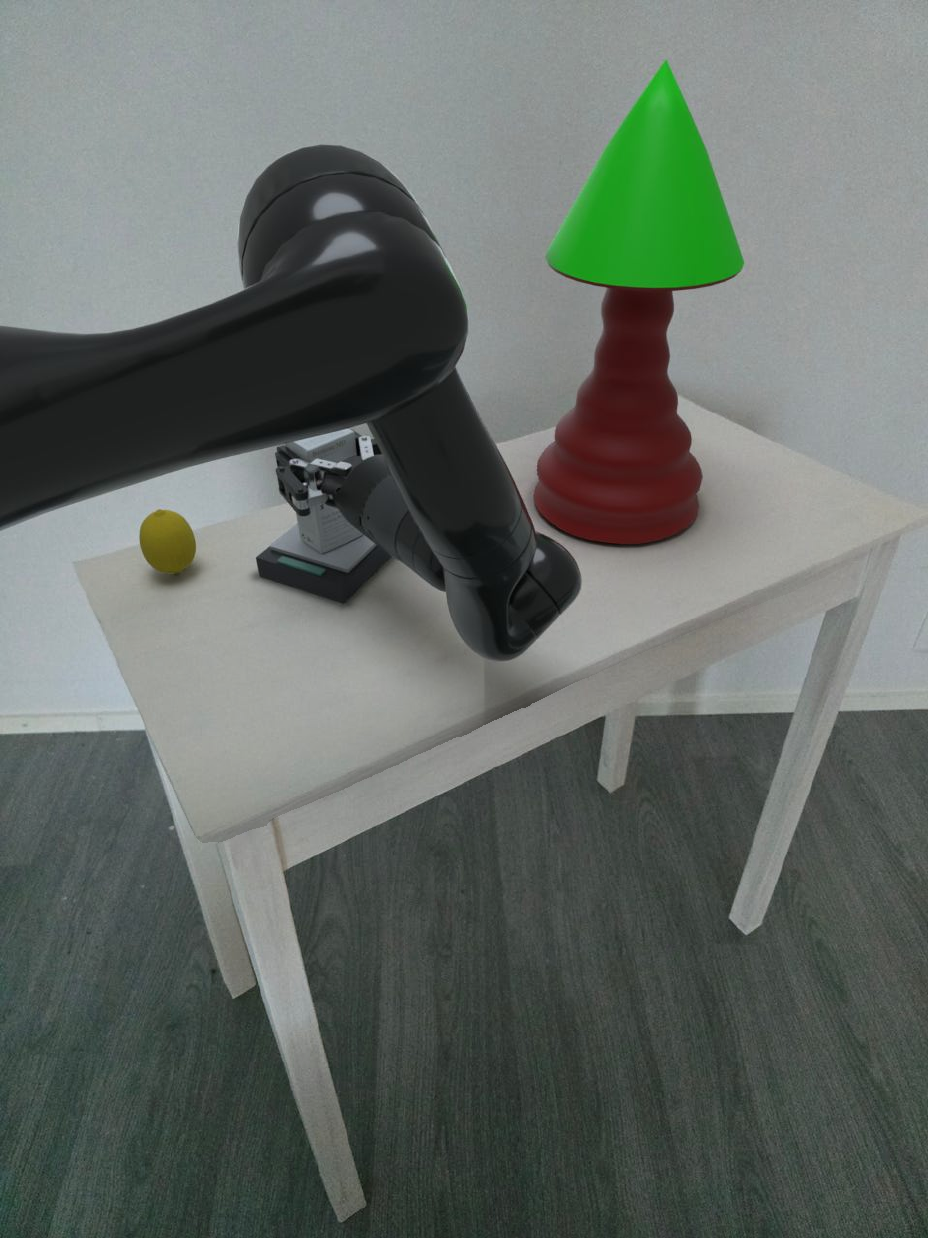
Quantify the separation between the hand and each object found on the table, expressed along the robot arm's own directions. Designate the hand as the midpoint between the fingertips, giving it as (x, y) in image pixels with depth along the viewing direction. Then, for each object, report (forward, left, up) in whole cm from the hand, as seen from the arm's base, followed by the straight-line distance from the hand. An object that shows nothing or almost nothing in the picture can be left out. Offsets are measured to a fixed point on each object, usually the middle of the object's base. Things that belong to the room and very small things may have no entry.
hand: (310, 444), depth 86 cm
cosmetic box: (-1, -2, -10) cm, 10 cm away
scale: (-1, -2, -13) cm, 13 cm away
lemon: (-11, +12, -13) cm, 21 cm away
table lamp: (+24, -26, -13) cm, 38 cm away
